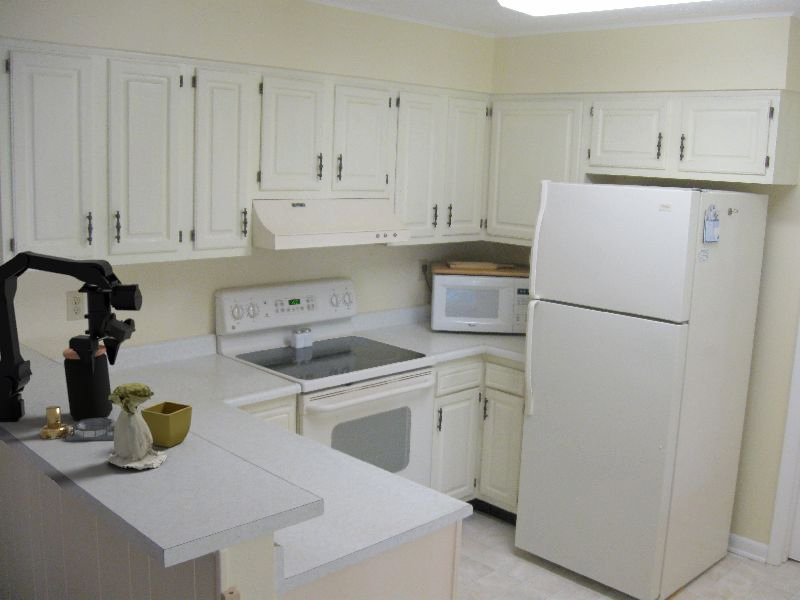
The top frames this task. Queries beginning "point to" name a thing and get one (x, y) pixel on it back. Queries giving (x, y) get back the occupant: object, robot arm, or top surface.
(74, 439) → the carrier
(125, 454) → the cream lumpy figure
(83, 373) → the coffee jar
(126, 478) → the top surface
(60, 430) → the planet gear
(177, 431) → the flower pot
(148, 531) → the top surface
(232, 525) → the top surface
